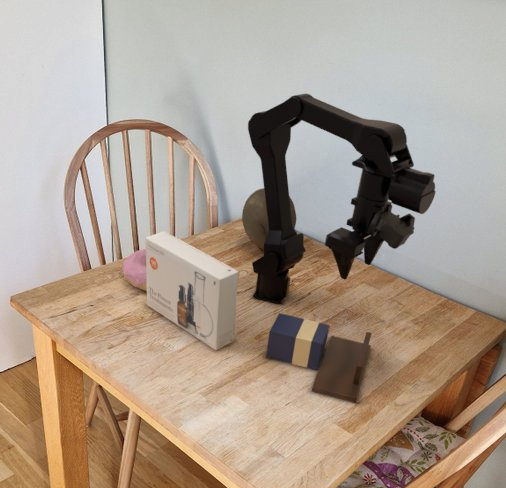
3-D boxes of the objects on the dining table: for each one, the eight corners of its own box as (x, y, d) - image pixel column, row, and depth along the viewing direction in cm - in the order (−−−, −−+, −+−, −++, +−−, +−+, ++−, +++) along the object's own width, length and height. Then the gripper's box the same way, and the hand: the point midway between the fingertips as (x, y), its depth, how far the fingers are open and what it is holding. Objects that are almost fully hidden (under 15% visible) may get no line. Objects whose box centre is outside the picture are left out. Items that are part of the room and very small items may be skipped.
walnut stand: (311, 391, 109) (315, 368, 106) (330, 339, 124) (334, 318, 121) (355, 403, 107) (361, 380, 105) (369, 349, 122) (374, 328, 119)
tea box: (265, 357, 116) (269, 330, 113) (275, 338, 122) (279, 312, 119) (317, 370, 114) (322, 343, 111) (324, 350, 120) (329, 324, 117)
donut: (110, 288, 132) (110, 267, 130) (137, 259, 145) (137, 239, 142) (179, 302, 130) (180, 281, 127) (200, 271, 143) (201, 252, 140)
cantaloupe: (304, 249, 158) (312, 194, 150) (264, 263, 150) (271, 205, 142) (266, 230, 167) (272, 176, 159) (227, 242, 158) (231, 185, 150)
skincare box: (143, 306, 127) (144, 236, 119) (164, 298, 131) (165, 229, 122) (214, 352, 116) (220, 278, 108) (234, 342, 120) (241, 269, 111)
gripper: (387, 223, 101) (368, 304, 110) (435, 197, 114) (414, 271, 122) (331, 201, 107) (316, 280, 115) (382, 180, 119) (365, 252, 128)
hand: (355, 271), depth 120 cm, fingers open, 9 cm apart
